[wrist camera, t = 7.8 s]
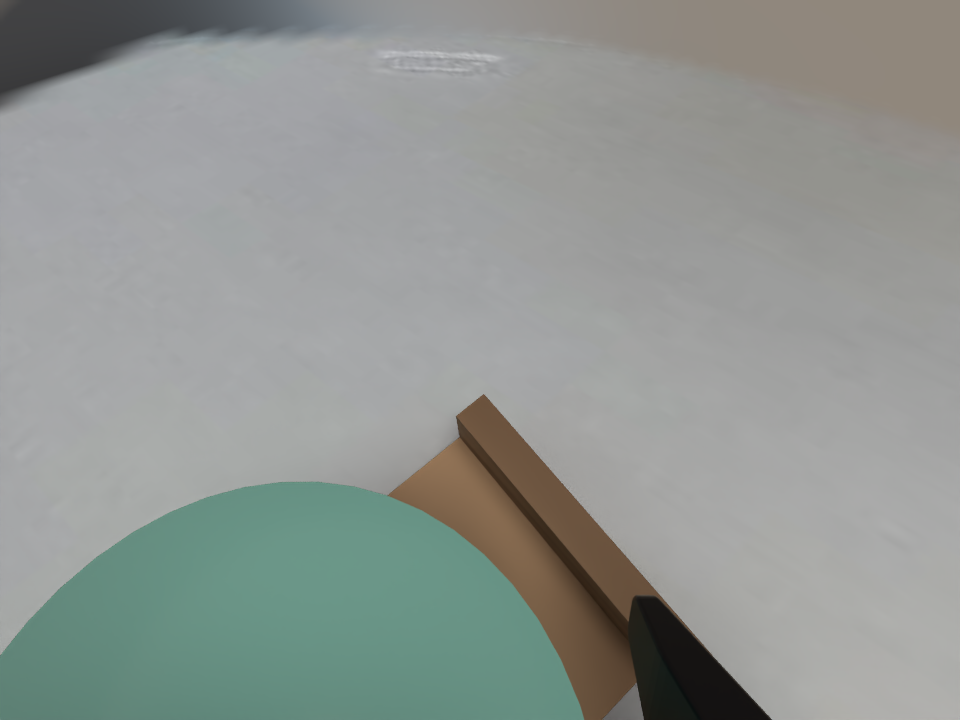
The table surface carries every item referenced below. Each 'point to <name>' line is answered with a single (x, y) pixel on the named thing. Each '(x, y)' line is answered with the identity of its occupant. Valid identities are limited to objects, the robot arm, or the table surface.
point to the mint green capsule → (287, 621)
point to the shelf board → (538, 548)
